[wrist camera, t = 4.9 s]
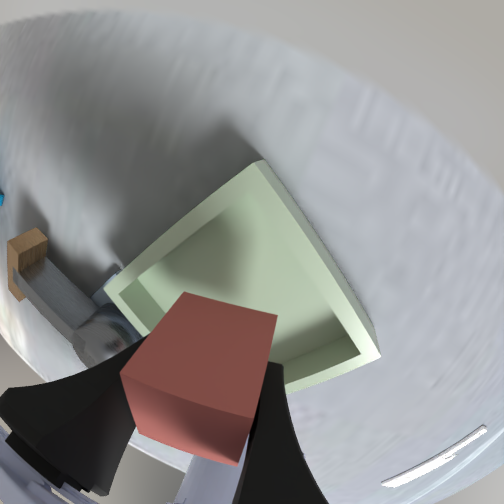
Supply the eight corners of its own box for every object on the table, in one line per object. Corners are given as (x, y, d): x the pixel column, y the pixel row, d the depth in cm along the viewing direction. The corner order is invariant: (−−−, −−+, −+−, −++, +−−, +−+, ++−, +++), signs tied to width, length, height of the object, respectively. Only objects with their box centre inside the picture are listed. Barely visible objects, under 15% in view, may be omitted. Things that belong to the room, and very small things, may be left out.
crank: (157, 328, 16) (132, 361, 13) (138, 364, 19) (116, 393, 16) (39, 225, 16) (7, 241, 13) (34, 272, 18) (8, 289, 15)
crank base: (182, 343, 17) (179, 349, 17) (116, 373, 21) (112, 377, 21) (120, 269, 16) (115, 273, 16) (69, 319, 20) (65, 323, 19)
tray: (374, 327, 14) (381, 356, 12) (230, 386, 18) (220, 412, 16) (264, 159, 12) (253, 162, 10) (126, 270, 16) (103, 288, 14)
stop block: (277, 315, 11) (253, 418, 6) (260, 378, 12) (237, 466, 8) (183, 291, 11) (119, 372, 7) (183, 356, 13) (139, 433, 8)
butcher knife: (492, 429, 17) (495, 435, 16) (400, 482, 23) (400, 488, 22) (481, 423, 16) (484, 430, 15) (380, 479, 23) (380, 486, 22)
